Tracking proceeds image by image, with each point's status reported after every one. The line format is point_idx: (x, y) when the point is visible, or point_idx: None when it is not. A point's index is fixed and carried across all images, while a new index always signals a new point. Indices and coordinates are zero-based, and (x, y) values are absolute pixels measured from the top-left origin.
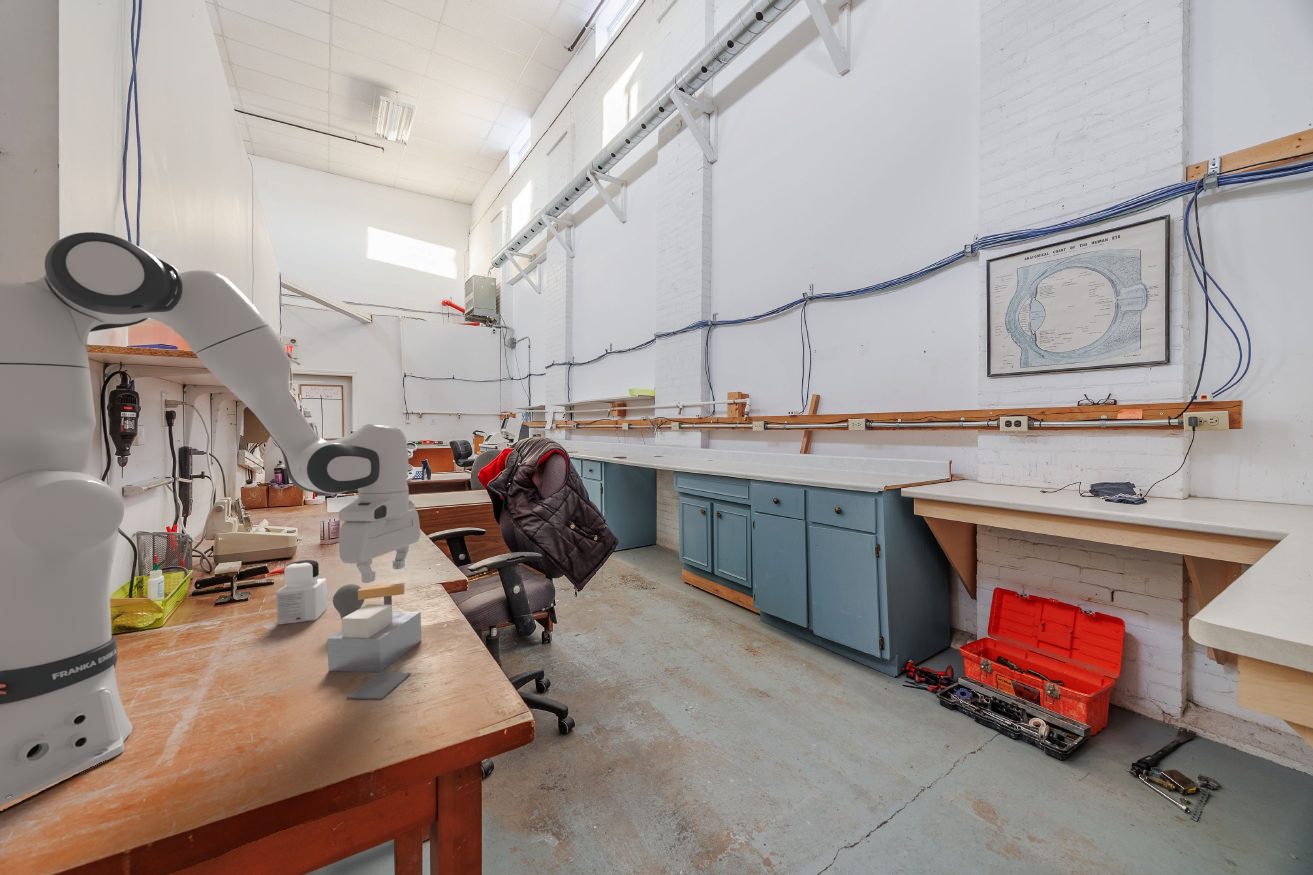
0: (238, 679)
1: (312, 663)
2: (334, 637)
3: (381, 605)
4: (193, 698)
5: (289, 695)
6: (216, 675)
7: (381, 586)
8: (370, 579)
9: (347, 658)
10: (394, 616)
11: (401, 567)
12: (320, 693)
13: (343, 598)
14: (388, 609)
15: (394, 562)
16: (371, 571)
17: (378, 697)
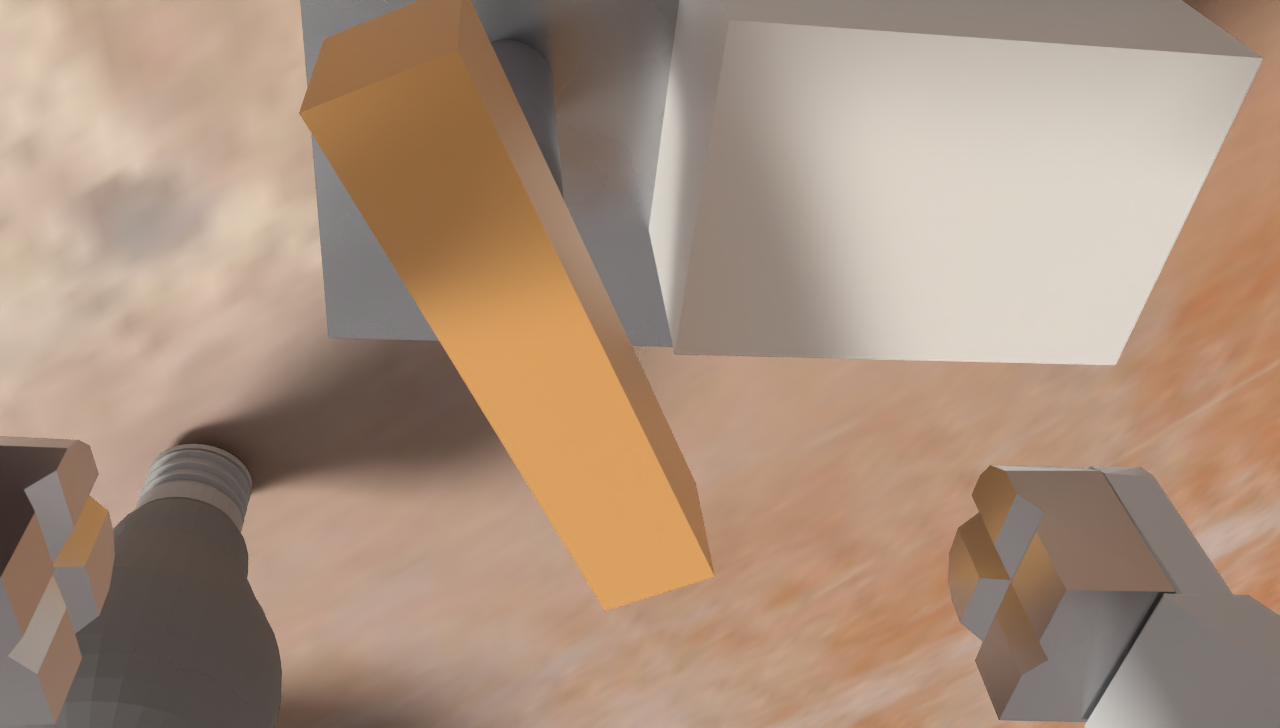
0: (906, 587)
1: (770, 372)
2: None
3: (743, 158)
4: None
5: (1214, 230)
6: (835, 689)
7: (531, 399)
8: (1161, 495)
9: None
10: (484, 14)
11: (27, 444)
12: (1273, 46)
13: (256, 705)
14: (804, 9)
15: (56, 659)
16: (1226, 618)
17: None
